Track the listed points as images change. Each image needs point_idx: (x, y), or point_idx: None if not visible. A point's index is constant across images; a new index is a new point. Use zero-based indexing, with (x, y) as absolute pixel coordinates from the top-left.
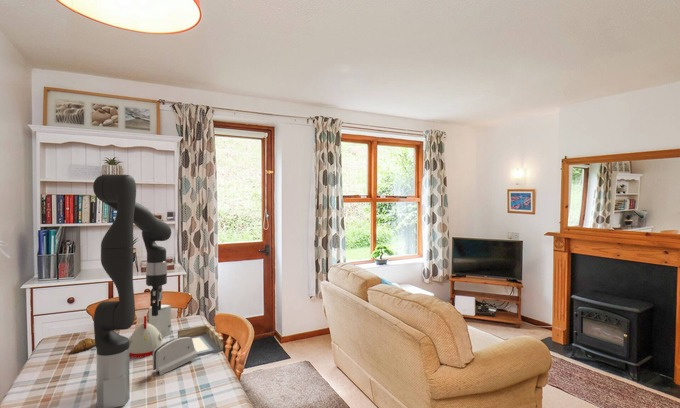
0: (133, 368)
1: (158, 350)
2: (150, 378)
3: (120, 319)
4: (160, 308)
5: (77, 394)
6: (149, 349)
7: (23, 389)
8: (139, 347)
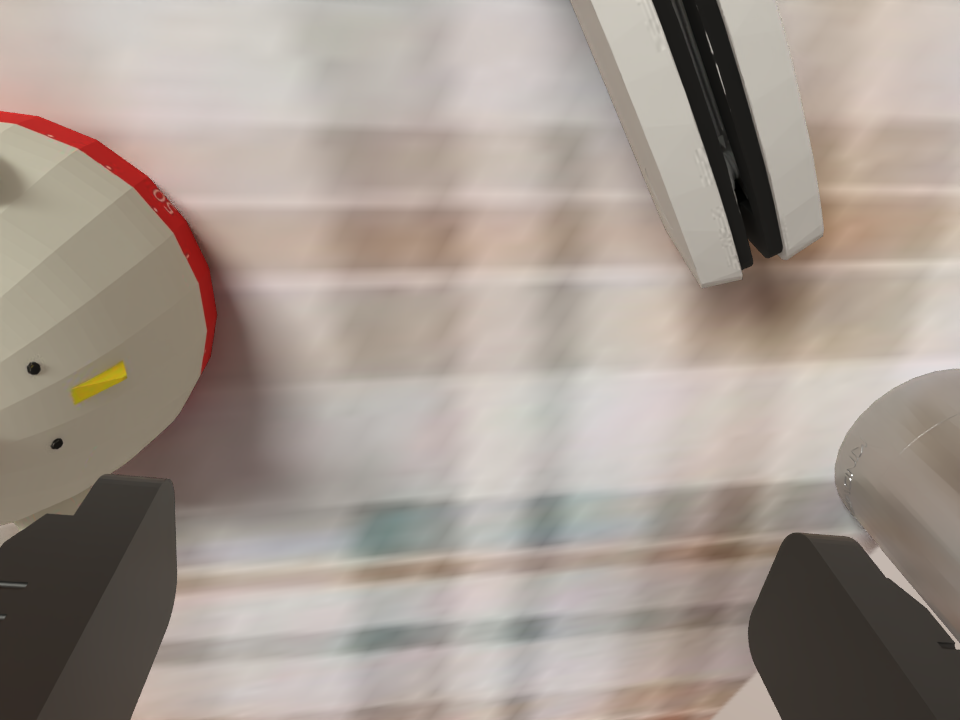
0: (473, 373)
1: (803, 239)
2: None
3: None
4: (160, 502)
5: (708, 626)
6: (178, 275)
7: None
8: (173, 387)
